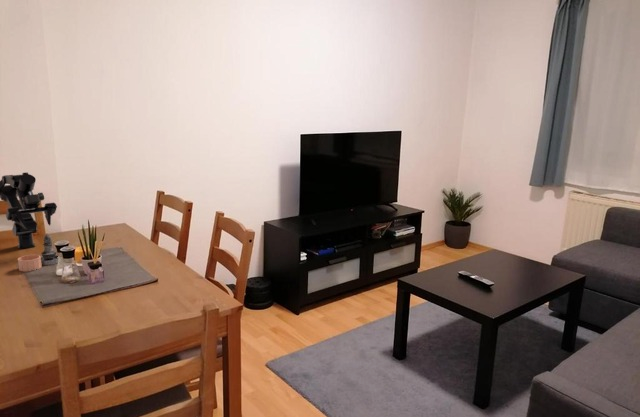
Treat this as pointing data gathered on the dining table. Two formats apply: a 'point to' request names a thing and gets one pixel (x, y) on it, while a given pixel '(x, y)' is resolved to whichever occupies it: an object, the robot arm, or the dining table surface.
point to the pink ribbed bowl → (29, 262)
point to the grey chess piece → (48, 249)
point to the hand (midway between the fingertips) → (38, 226)
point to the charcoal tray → (49, 261)
